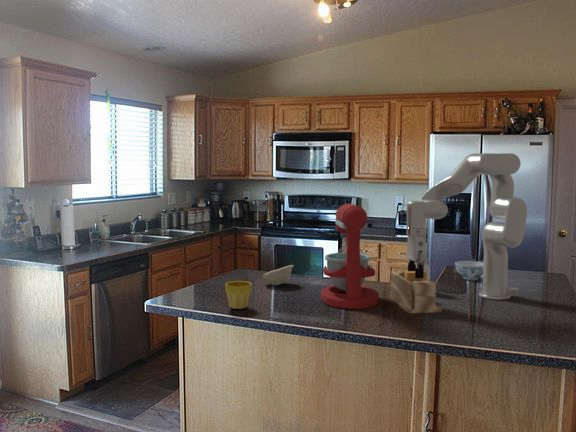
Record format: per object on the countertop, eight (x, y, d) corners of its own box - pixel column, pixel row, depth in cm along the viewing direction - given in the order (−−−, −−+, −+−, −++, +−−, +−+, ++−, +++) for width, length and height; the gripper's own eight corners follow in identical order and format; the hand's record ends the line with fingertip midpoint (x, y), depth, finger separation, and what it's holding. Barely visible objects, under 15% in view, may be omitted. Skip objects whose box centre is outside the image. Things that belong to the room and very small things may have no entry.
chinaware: (449, 276, 263) (450, 261, 262) (478, 275, 265) (478, 260, 264) (462, 282, 248) (463, 266, 247) (492, 281, 250) (493, 265, 249)
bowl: (275, 280, 256) (275, 260, 255) (299, 283, 247) (299, 263, 247) (256, 285, 244) (256, 264, 243) (280, 289, 235) (280, 268, 234)
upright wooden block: (423, 295, 210) (423, 270, 209) (426, 297, 207) (426, 272, 206) (404, 296, 209) (404, 271, 208) (406, 298, 206) (407, 273, 205)
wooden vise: (420, 297, 220) (420, 270, 219) (442, 312, 197) (442, 282, 196) (390, 298, 219) (390, 271, 218) (408, 313, 196) (409, 283, 195)
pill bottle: (430, 294, 225) (431, 260, 224) (411, 293, 227) (411, 259, 226) (429, 290, 233) (429, 257, 232) (410, 289, 235) (411, 256, 233)
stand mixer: (370, 290, 233) (371, 201, 229) (387, 309, 202) (388, 206, 198) (317, 291, 232) (317, 201, 228) (325, 310, 200) (326, 206, 197)
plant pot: (255, 305, 208) (255, 281, 207) (245, 312, 198) (245, 287, 197) (232, 303, 211) (231, 280, 211) (220, 310, 202) (220, 285, 201)
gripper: (433, 234, 197) (432, 280, 199) (417, 229, 215) (416, 271, 216) (414, 235, 197) (413, 280, 198) (399, 229, 214) (399, 272, 215)
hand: (415, 275), depth 207 cm, fingers open, 8 cm apart
